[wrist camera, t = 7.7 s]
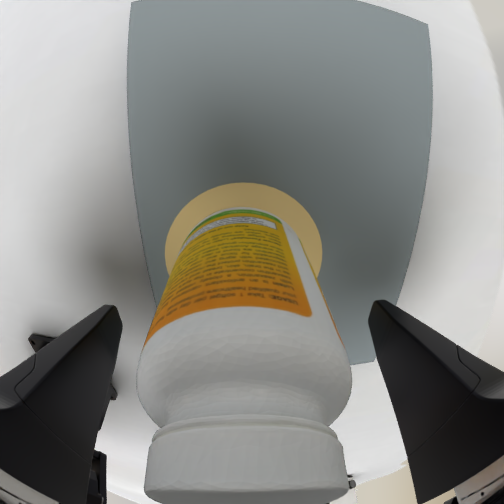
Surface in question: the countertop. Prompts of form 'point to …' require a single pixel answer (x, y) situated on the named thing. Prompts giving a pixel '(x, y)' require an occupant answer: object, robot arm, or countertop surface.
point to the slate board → (285, 135)
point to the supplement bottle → (244, 371)
